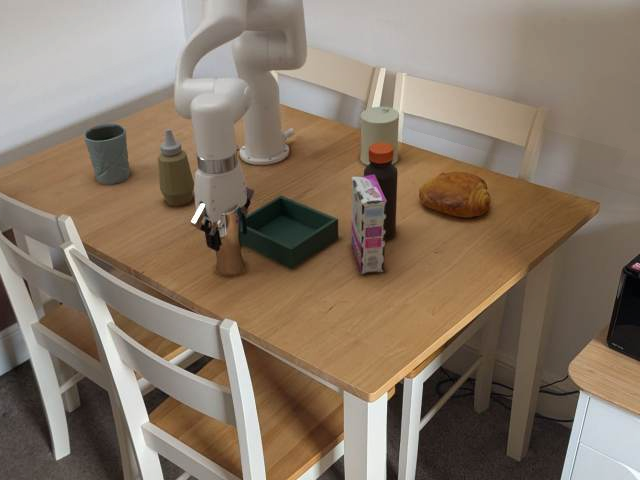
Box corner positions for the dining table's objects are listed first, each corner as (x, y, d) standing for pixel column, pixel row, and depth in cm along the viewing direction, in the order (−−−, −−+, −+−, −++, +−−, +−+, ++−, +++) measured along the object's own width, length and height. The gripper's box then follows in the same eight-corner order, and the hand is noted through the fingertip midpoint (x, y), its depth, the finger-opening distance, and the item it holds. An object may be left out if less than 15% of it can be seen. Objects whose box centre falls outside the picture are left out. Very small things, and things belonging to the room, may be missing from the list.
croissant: (468, 236, 171) (475, 205, 165) (407, 206, 178) (412, 176, 173) (502, 205, 179) (510, 176, 173) (442, 178, 186) (448, 149, 180)
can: (404, 154, 198) (406, 108, 191) (388, 170, 192) (389, 123, 185) (370, 147, 202) (370, 102, 195) (353, 163, 196) (353, 117, 189)
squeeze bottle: (191, 209, 185) (180, 138, 174) (158, 208, 187) (145, 137, 175) (200, 192, 191) (190, 121, 180) (167, 191, 193) (155, 121, 182)
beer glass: (252, 260, 167) (245, 197, 157) (240, 279, 162) (233, 216, 152) (221, 256, 169) (212, 194, 159) (209, 275, 164) (200, 212, 154)
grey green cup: (86, 183, 199) (75, 138, 192) (106, 164, 207) (97, 121, 199) (121, 187, 196) (112, 142, 189) (140, 168, 203) (132, 124, 196)
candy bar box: (385, 272, 159) (387, 200, 149) (361, 275, 159) (361, 203, 149) (374, 242, 168) (375, 172, 158) (350, 245, 168) (350, 175, 158)
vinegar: (387, 245, 167) (389, 158, 155) (358, 237, 170) (358, 152, 158) (400, 229, 171) (403, 143, 159) (371, 222, 175) (372, 137, 162)
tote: (282, 213, 180) (280, 195, 177) (338, 238, 171) (338, 218, 168) (235, 241, 173) (233, 222, 170) (292, 269, 163) (291, 249, 160)
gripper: (236, 138, 156) (244, 216, 168) (169, 172, 147) (182, 252, 159) (264, 148, 152) (270, 227, 163) (196, 184, 143) (208, 266, 154)
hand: (227, 239), depth 161 cm, fingers closed on beer glass, 7 cm apart
